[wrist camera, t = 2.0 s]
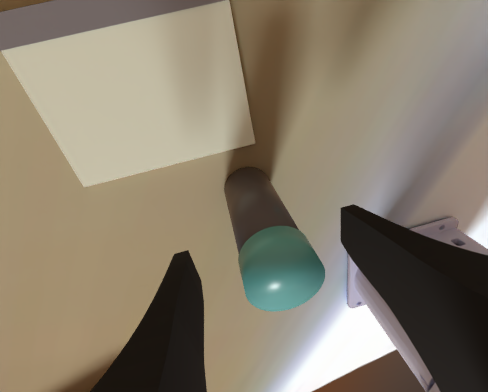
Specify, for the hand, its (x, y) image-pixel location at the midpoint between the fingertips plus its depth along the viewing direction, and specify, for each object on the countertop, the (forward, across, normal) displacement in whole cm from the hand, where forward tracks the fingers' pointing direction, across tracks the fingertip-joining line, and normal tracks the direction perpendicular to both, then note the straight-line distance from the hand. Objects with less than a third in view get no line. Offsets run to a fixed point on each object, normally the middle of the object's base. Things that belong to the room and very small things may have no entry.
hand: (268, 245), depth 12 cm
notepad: (+6, +4, -7) cm, 10 cm away
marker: (+6, 0, 0) cm, 6 cm away
